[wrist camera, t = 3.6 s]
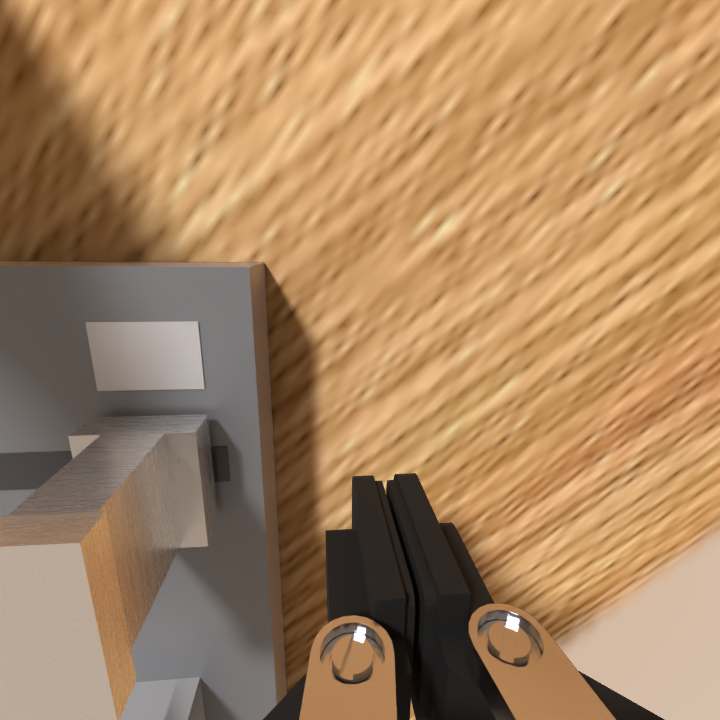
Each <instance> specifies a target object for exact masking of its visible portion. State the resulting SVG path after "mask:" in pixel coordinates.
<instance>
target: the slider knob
mask: <svg viewBox="0 0 720 720" xmlns="http://www.w3.org/2000/svg"><path fill="white" fill-rule="evenodd" d="M68 438H69V443H70V448H71V453H72V458H73V459H72V460H71V461H70V462H69V463H67V464H66V465H65V466H64V467H63V468H62V469H60V470H59V471H58V472H57V473H56V474H55V475H53V476H52V477H51V478H50V479H49V480H48V481H46V482H45V483H44V484H43V485H42V486H41V487H39V488H38V489H37V490H36V491H35V492H34V493H32V494H31V495H30V496H29V497H28V498H27V499H25V500H24V501H23V502H22V503H21V504H20V505H18V506H17V507H16V508H15V509H14V510H13V511H11V512H10V513H9V514H8V515H7V516H0V720H120V717H121V715H122V713H123V710H124V708H125V706H126V703H127V701H128V699H129V696H130V694H131V692H132V689H133V687H134V685H135V682H136V680H137V679H136V674H135V669H134V663H133V658H132V652H131V649H132V647H133V645H134V643H135V641H136V638H137V636H138V634H139V632H140V630H141V628H142V626H143V624H144V622H145V619H146V617H147V615H148V613H149V611H150V609H151V607H152V605H153V603H154V600H155V598H156V596H157V594H158V592H159V590H160V588H161V586H162V584H163V582H164V579H165V577H166V575H167V573H168V571H169V569H170V567H171V565H172V563H173V560H174V558H175V556H176V554H177V552H178V550H179V548H186V547H206V546H208V545H209V543H210V540H211V537H212V535H213V532H214V530H215V527H216V524H217V522H218V511H217V501H216V491H215V481H214V471H213V461H212V451H211V440H210V430H209V420H208V414H200V415H160V416H119V417H93V418H91V419H90V420H89V421H87V422H86V423H85V424H83V425H82V426H81V427H79V428H78V429H77V430H75V431H74V432H73V433H71V434H70V435H69V436H68Z"/></svg>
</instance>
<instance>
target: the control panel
mask: <svg viewBox="0 0 720 720" xmlns="http://www.w3.org/2000/svg"><path fill="white" fill-rule="evenodd" d="M200 414H208V420H209V430H210V440H211V451H212V461H213V471H214V481H215V491H216V501H217V511H218V522H217V524H216V527H215V530H214V532H213V535H212V537H211V540H210V543H209V545H208V546H206V547H186V548H179V550H178V552H177V554H176V556H175V558H174V560H173V563H172V565H171V567H170V569H169V571H168V573H167V575H166V577H165V579H164V582H163V584H162V586H161V588H160V590H159V592H158V594H157V596H156V598H155V600H154V603H153V605H152V607H151V609H150V611H149V613H148V615H147V617H146V619H145V622H144V624H143V626H142V628H141V630H140V632H139V634H138V636H137V638H136V641H135V643H134V645H133V647H132V649H131V652H132V658H133V663H134V669H135V674H136V679H137V680H136V682H135V685H134V687H133V689H132V692H131V694H130V696H129V699H128V701H127V703H126V706H125V708H124V710H123V713H122V715H121V717H120V720H263V719H264V718H265V717H266V716H267V715H268V714H269V712H270V711H271V710H272V709H273V708H274V707H275V706H276V705H277V704H278V703H279V702H280V701H281V700H282V699H283V698H284V697H285V696H286V694H287V683H286V664H285V645H284V626H283V607H282V588H281V569H280V550H279V531H278V513H277V494H276V475H275V456H274V437H273V418H272V399H271V380H270V361H269V342H268V323H267V304H266V285H265V266H264V262H95V261H0V516H7V515H8V514H9V513H10V512H11V511H13V510H14V509H15V508H16V507H17V506H18V505H20V504H21V503H22V502H23V501H24V500H25V499H27V498H28V497H29V496H30V495H31V494H32V493H34V492H35V491H36V490H37V489H38V488H39V487H41V486H42V485H43V484H44V483H45V482H46V481H48V480H49V479H50V478H51V477H52V476H53V475H55V474H56V473H57V472H58V471H59V470H60V469H62V468H63V467H64V466H65V465H66V464H67V463H69V462H70V461H71V460H72V459H73V458H72V453H71V448H70V443H69V438H68V436H69V435H70V434H71V433H73V432H74V431H75V430H77V429H78V428H79V427H81V426H82V425H83V424H85V423H86V422H87V421H89V420H90V419H91V418H93V417H119V416H160V415H200Z"/></svg>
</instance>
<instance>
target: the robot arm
mask: <svg viewBox="0 0 720 720" xmlns="http://www.w3.org/2000/svg"><path fill="white" fill-rule="evenodd" d="M326 575H327V606H328V624H327V625H325V626H324V627H323V628H322V629H321V630H320V632H319V633H318V634H317V636H316V637H315V639H314V642H313V645H312V648H311V653H310V659H309V664H308V670H307V673H306V674H305V675H304V676H303V678H302V679H301V680H300V681H299V682H298V683H297V684H296V685H295V686H294V687H293V688H292V689H291V690H290V691H289V692H288V693H287V694H286V696H285V697H284V698H283V699H282V700H281V701H280V702H279V703H278V704H277V705H276V706H275V707H274V708H273V709H272V710H271V711H270V712H269V714H268V715H267V716H266V717H265V718H264V719H263V720H409V719H410V702H411V700H412V704H413V709H414V713H415V717H416V720H664V719H662V718H661V717H659V716H657V715H655V714H654V713H652V712H650V711H648V710H646V709H645V708H643V707H641V706H639V705H637V704H636V703H634V702H632V701H631V700H629V699H627V698H625V697H624V696H622V695H620V694H618V693H617V692H615V691H613V690H611V689H609V688H608V687H606V686H604V685H602V684H601V683H599V682H597V681H595V680H593V679H592V678H590V677H588V676H586V675H585V674H583V673H581V672H580V671H578V670H577V669H576V668H575V667H574V665H573V664H572V663H571V661H570V660H569V659H568V658H567V656H566V655H565V654H564V652H563V651H562V650H561V649H560V647H559V646H558V645H557V644H556V642H555V641H554V640H553V638H552V637H551V636H550V635H549V633H548V632H547V631H546V629H545V628H544V627H543V626H542V625H541V624H540V623H539V622H538V621H537V620H536V619H535V618H534V617H532V616H531V615H529V614H528V613H526V612H525V611H523V610H521V609H519V608H516V607H514V606H511V605H506V604H501V603H495V604H494V602H493V600H492V598H491V596H490V594H489V592H488V590H487V588H486V586H485V584H484V582H483V580H482V578H481V576H480V574H479V572H478V570H477V568H476V567H475V565H474V563H473V561H472V559H471V557H470V555H469V553H468V551H467V549H466V547H465V545H464V543H463V541H462V539H461V537H460V535H459V533H458V531H457V529H456V528H455V526H454V525H453V524H452V523H440V524H439V523H438V520H437V518H436V516H435V514H434V512H433V509H432V507H431V505H430V503H429V501H428V498H427V496H426V494H425V492H424V490H423V487H422V485H421V483H420V481H419V479H418V477H417V475H416V474H415V473H413V474H395V475H394V480H388V481H387V491H386V493H385V490H384V486H383V483H382V481H375V479H374V476H373V475H372V476H353V478H352V529H345V530H329V531H326Z"/></svg>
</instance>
